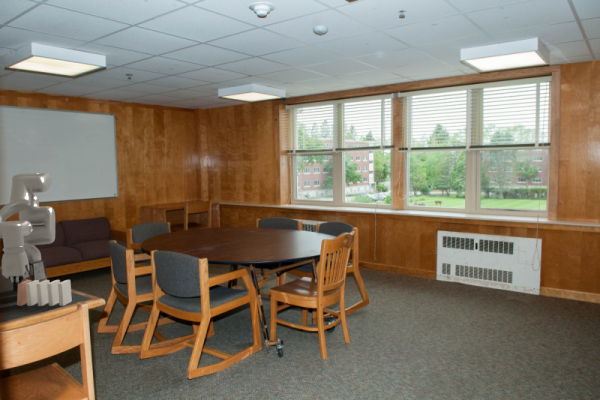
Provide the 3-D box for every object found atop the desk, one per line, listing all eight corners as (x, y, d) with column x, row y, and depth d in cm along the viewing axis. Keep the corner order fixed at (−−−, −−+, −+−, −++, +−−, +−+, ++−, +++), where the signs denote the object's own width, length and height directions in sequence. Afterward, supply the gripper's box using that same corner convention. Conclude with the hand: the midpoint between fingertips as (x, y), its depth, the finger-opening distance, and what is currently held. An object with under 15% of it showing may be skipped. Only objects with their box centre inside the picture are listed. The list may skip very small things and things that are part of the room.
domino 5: (59, 305, 183) (57, 283, 182) (68, 301, 189) (66, 279, 188) (63, 305, 183) (61, 283, 182) (71, 301, 189) (70, 279, 188)
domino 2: (27, 305, 184) (25, 283, 183) (36, 301, 190) (35, 280, 189) (31, 305, 184) (29, 283, 183) (40, 301, 190) (38, 280, 189)
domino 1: (16, 305, 184) (17, 283, 183) (26, 300, 190) (27, 279, 189) (20, 305, 184) (21, 284, 183) (30, 301, 190) (31, 280, 189)
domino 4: (48, 305, 183) (47, 283, 182) (57, 301, 189) (55, 280, 188) (52, 305, 183) (50, 283, 182) (61, 301, 189) (59, 279, 188)
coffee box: (48, 292, 203) (46, 260, 202) (36, 296, 197) (33, 263, 196) (35, 290, 206) (33, 259, 205) (23, 294, 201) (20, 262, 199)
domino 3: (38, 305, 183) (36, 283, 183) (47, 301, 189) (45, 280, 189) (42, 305, 183) (40, 283, 182) (51, 301, 189) (49, 280, 188)
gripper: (-8, 252, 182) (-5, 293, 183) (23, 252, 181) (27, 292, 182) (5, 249, 189) (9, 288, 191) (36, 248, 188) (39, 287, 190)
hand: (17, 290), depth 187 cm, fingers closed
